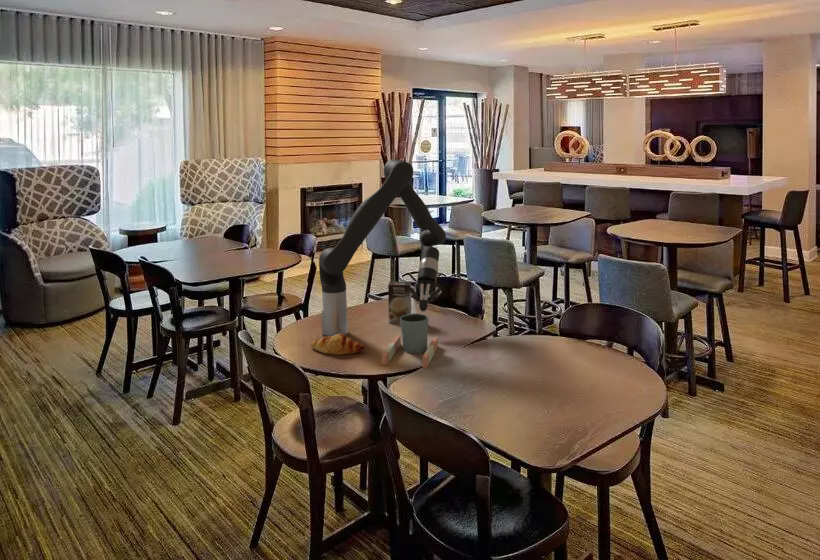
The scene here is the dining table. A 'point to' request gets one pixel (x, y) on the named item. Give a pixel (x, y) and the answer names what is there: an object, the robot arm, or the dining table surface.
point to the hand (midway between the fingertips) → (422, 310)
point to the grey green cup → (414, 332)
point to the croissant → (337, 345)
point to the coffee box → (399, 300)
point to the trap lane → (397, 342)
